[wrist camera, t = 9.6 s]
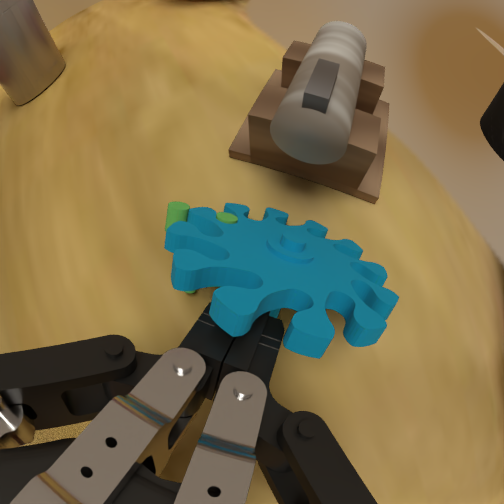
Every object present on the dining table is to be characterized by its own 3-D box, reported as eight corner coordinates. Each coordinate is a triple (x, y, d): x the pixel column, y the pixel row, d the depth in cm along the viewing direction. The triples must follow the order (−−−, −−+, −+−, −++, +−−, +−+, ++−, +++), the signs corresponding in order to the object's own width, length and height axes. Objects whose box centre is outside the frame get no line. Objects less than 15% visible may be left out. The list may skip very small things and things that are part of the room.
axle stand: (370, 223, 16) (433, 143, 9) (220, 174, 18) (198, 74, 10) (386, 109, 20) (417, 36, 12) (275, 76, 21) (277, -3, 13)
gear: (402, 250, 14) (406, 375, 6) (358, 330, 17) (311, 464, 8) (232, 178, 17) (94, 209, 9) (214, 258, 20) (100, 326, 12)
